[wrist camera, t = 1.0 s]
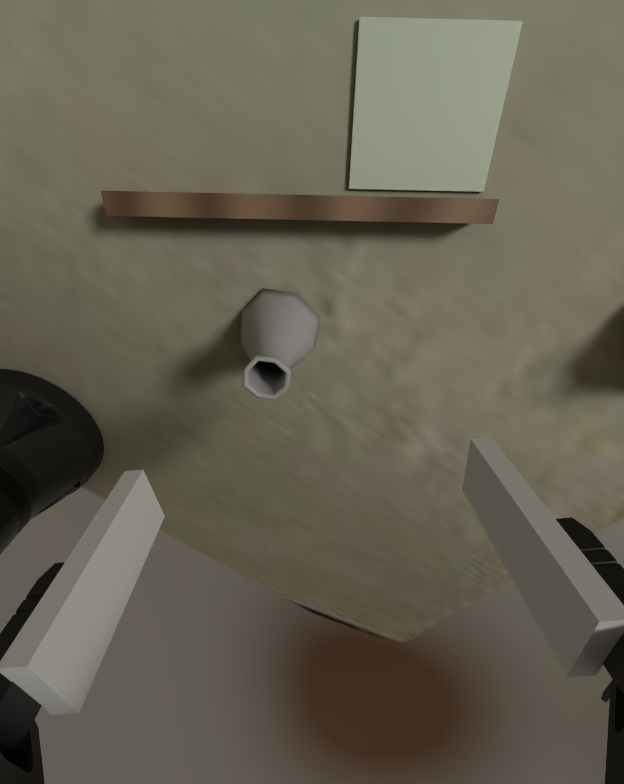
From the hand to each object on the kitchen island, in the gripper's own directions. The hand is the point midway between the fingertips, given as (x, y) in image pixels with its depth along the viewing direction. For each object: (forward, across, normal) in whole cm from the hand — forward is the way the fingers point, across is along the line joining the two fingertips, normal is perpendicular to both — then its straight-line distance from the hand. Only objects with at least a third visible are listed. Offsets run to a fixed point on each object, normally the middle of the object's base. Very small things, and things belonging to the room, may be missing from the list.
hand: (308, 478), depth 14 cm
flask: (+20, -2, 0) cm, 20 cm away
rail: (+19, +1, +9) cm, 21 cm away
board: (+19, +10, +14) cm, 26 cm away
